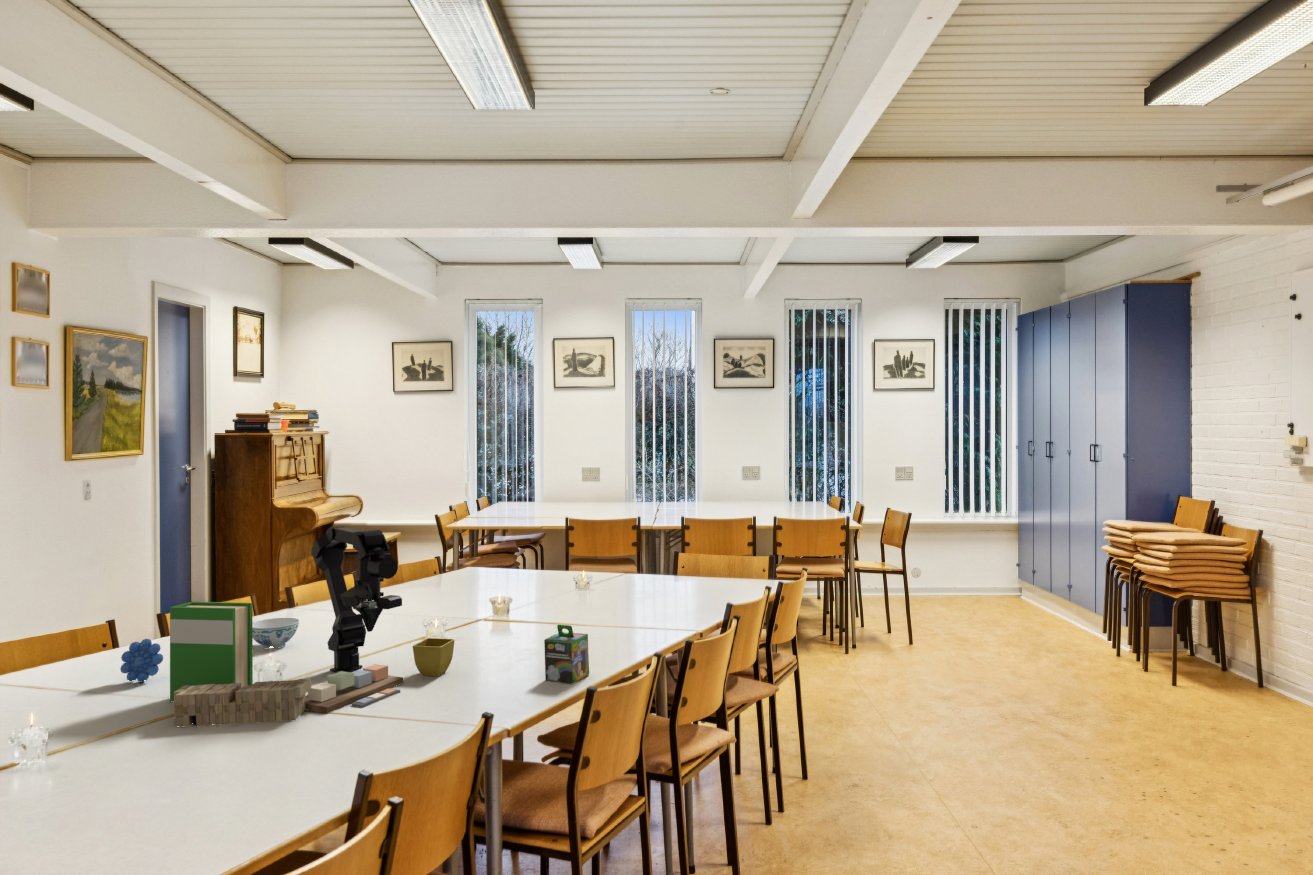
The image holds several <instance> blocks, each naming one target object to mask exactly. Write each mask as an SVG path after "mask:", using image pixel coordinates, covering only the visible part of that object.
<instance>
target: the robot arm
mask: <svg viewBox="0 0 1313 875" xmlns="http://www.w3.org/2000/svg"><path fill="white" fill-rule="evenodd" d="M325 531H326V532H325V533H324V534H322V535H321V536H319V537H318V538H317V539H316V540H315V542H314V544H313V546H312V547H311V556H312V559H313V560H314V563H315V566H316V567H317V568H318V569H320V570H321V571H322V572H323V573H324V577H325V580H326V585H327V589H328V594H329V596H330V600H331V604H332V607H333V608H332V609H333V613H334V616H335V617H334V622H333V625H332V627H331V630H332V634H331V635H330V637H329V639H328V641H327V647H328V648H327V649H328V650H329V651H331V652H333V662H334V663H333V667H331V668H330V669H329V671H330V672H335V673H338V672H340V671H343V672H350V673H351V672H354V671H357V670H360V669H361V668H362V669H363V665H361V664H360V652H359V647H360V648H361V647H364V646H365V641H366V636H367V632H369V633H370V632H372V631H373V630H374V628H375V626H376V624H377V622H378V619H379V618H380V616H381V614H382V612H383V610H390V609H394V608H399V607H402V606H403V598H402V596H400V595H395V594H388V595H385V596H384V594H385V593H384V592H383V591H381V582H384V581H385V580H386V579H387V580H389V579H392V578H393V577H395V576H396V574H397V572H398V570H399V565H398V563H397V561H396V560H395V558H393V557H392V554H391V551H390V550H391V547H390V546H389V543H388V542H387V539H386V537H385V534H384V533H383V531H382V530H381V529H369V530H360V529H355V528H350V527H347V526H344V525H342V526H341V525H339V526H331V527H329V528H327V530H325ZM348 545H352V549H353V550H355V551H357V554H355V559H358V562H357V563H358V579H355V580H354V586H352V587H350V588H349V589H348V587H347V583H346V580H345V577H344V573H343V569H342V565H343V561H344V559H345V551H346V550H347V549H348ZM384 579H385V580H384ZM354 610H355V611H357V612H358V614H357V613H355V611H354Z"/></svg>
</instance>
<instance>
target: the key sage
mask: <svg viewBox="0 0 1313 875" xmlns="http://www.w3.org/2000/svg"><path fill="white" fill-rule="evenodd" d="M326 678H327V682H326V683H330V684H336V689H339V690H342V689H344V688H347V687H350V686H352V685H354V673H351V671H350V672H343V671H340V672H335V673H332V674H329V675H327V677H326Z"/></svg>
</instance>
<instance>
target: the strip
mask: <svg viewBox="0 0 1313 875" xmlns="http://www.w3.org/2000/svg"><path fill="white" fill-rule="evenodd" d="M398 692H399V693H401V689H397V688H389V689H386V690H383V691H381V692H379V693H376V694H373V695H371V696H368V697H366V698H363V699H360V700H358V701H356V702H354V703H352V704H351V706H352V707H356V706H358V707H357V708H362V707H363V708H365V707H367V706H370V705H372V703H373V704H375V703H378V702H380V701H383V700H384V699H386V698H387V699H388V698H389V696H390V697H392V696H394V695H397V694H399V693H398ZM379 700H380V701H379Z"/></svg>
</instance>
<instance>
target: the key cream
mask: <svg viewBox="0 0 1313 875" xmlns="http://www.w3.org/2000/svg"><path fill="white" fill-rule="evenodd" d="M307 693H308V694H307V695H308V700H313V701H319V702H323V701H325V700H328V699H331V698H333V697H336V684H330V683H327V682H321V683H320V682H319V683H318V684H314V685H311V689H310V690H309V691H308V692H307Z"/></svg>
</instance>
